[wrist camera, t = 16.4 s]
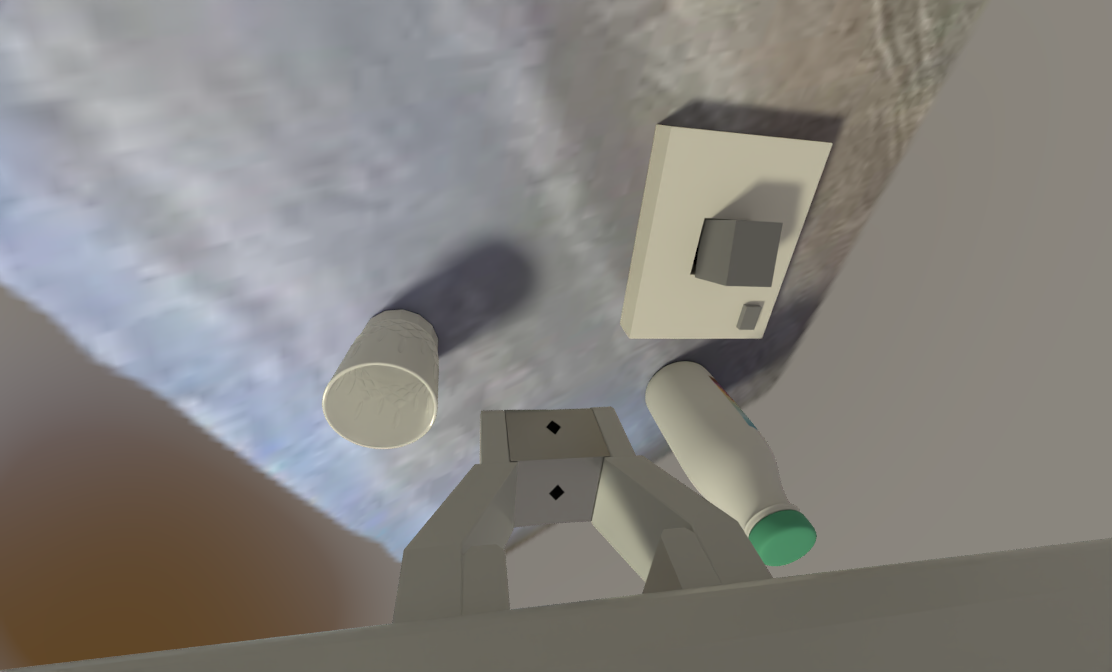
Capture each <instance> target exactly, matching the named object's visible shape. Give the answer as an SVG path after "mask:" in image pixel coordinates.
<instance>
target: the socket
mask: <svg viewBox="0 0 1112 672" xmlns="http://www.w3.org/2000/svg"><path fill="white" fill-rule="evenodd" d="M832 144H833V143H827V142H819V141H812V140H803V139H793V138H783V137H774V136H764V135H754V134H745V133H735V132H725V131H715V130H706V129H696V128H686V127H677V126H667V125H656V130H655V136H654V141H653V147H652V152H651V158H650V163H649V169H648V174H647V180H646V185H645V190H644V196H643V201H642V207H641V212H640V218H639V223H638V229H637V234H636V240H635V245H634V251H633V256H632V261H631V267H630V272H629V278H628V283H627V289H626V294H625V300H624V305H623V311H622V316H621V321H620V325H621V326H622V328H623V329H624V331H625V332H626V334H627V335H628V337H629V339H762V337H763V334H764V332H765V329H766V326H767V323H768V320H769V318H770V315H771V312H772V309H773V307H774V304H775V301H776V298H777V296H778V293H779V290H780V287H781V285H782V282H783V279H784V276H785V274H786V271H787V268H788V265H789V263H790V260H791V257H792V254H793V252H794V249H795V246H796V243H797V241H798V238H799V235H800V232H801V230H802V227H803V224H804V221H805V219H806V216H807V213H808V210H809V208H810V205H811V202H812V199H813V196H814V194H815V191H816V188H817V185H818V183H819V180H820V177H821V174H822V172H823V169H824V166H825V163H826V161H827V158H828V155H829V152H830V150H831V147H832ZM704 218H714V219H731V220H745V221H763V222H780V223H783V225H782V231H781V236H780V242H779V247H778V253H777V258H776V264H775V269H774V275H773V281H772V286H771V287H745V286H724V285H720V284H717V283H713V282H709V281H706V280H702V279H698V278H695V272H696V264H693V262H694V258H695V254H696V250H697V246H698V242H699V238H700V234H701V230H702V226H703V222H704Z"/></svg>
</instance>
